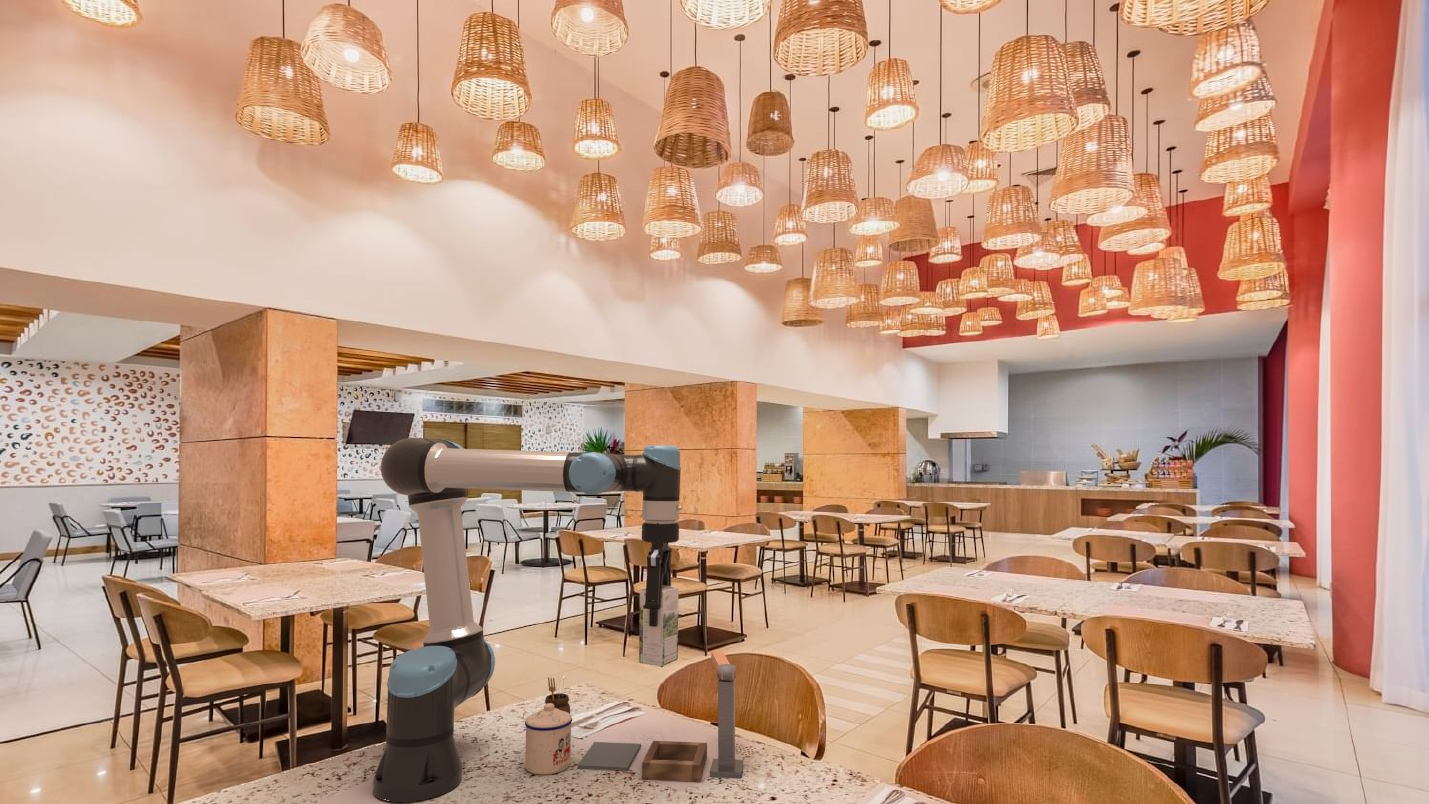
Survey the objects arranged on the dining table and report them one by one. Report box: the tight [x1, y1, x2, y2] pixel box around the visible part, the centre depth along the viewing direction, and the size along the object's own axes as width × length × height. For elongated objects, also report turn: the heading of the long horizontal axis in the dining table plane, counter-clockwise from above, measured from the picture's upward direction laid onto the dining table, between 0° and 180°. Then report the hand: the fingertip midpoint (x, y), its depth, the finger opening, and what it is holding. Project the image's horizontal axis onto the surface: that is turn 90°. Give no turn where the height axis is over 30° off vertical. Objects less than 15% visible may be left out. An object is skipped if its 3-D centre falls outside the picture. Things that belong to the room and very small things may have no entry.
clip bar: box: [710, 649, 737, 680], centre depth 145 cm, size 16×4×2 cm, turn 7°
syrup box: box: [638, 585, 679, 667], centre depth 142 cm, size 6×6×14 cm
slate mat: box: [576, 741, 642, 772], centre depth 143 cm, size 10×12×1 cm
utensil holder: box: [544, 675, 571, 715], centre depth 159 cm, size 6×6×12 cm
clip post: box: [709, 678, 744, 779], centre depth 137 cm, size 6×6×17 cm
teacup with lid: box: [524, 703, 573, 775], centre depth 141 cm, size 12×9×12 cm
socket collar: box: [641, 740, 708, 783], centre depth 138 cm, size 11×11×3 cm
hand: (657, 637), depth 141 cm, fingers closed on syrup box, 7 cm apart
